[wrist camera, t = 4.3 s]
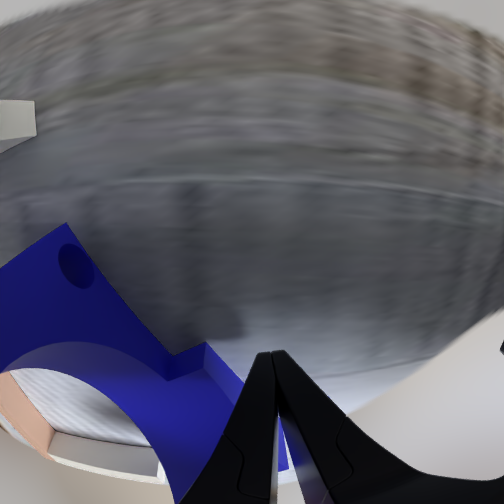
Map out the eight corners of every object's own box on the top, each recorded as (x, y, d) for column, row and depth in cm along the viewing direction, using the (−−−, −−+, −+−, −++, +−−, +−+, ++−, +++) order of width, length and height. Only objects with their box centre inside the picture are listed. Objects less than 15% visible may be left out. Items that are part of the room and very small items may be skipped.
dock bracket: (34, 101, 6) (-7, 99, 4) (167, 457, 13) (164, 484, 11) (-74, 176, 6) (-100, 187, 4) (52, 437, 13) (44, 457, 11)
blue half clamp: (280, 416, 12) (298, 528, 6) (203, 439, 13) (200, 538, 7) (98, 194, 8) (-55, 295, 2) (26, 263, 8) (-73, 361, 3)
